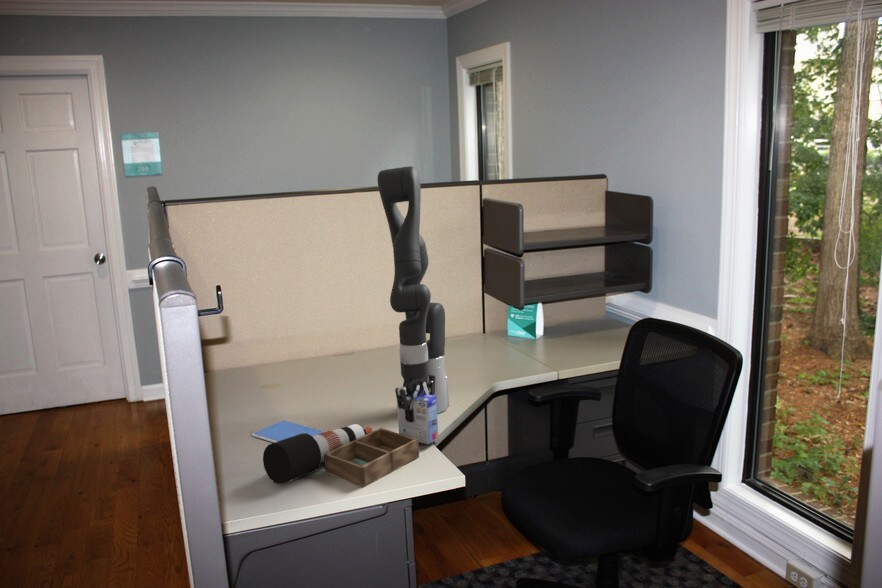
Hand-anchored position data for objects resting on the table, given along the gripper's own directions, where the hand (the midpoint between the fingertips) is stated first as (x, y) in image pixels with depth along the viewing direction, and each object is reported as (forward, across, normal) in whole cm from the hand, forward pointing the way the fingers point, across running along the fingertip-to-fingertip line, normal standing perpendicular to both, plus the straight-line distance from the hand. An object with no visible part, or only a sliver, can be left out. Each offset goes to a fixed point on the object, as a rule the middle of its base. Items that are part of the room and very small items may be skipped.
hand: (417, 417), depth 197 cm
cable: (+7, +22, -13) cm, 27 cm away
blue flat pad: (+8, +17, -34) cm, 39 cm away
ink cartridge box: (+6, 0, 0) cm, 6 cm away
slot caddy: (+7, +17, 0) cm, 19 cm away
